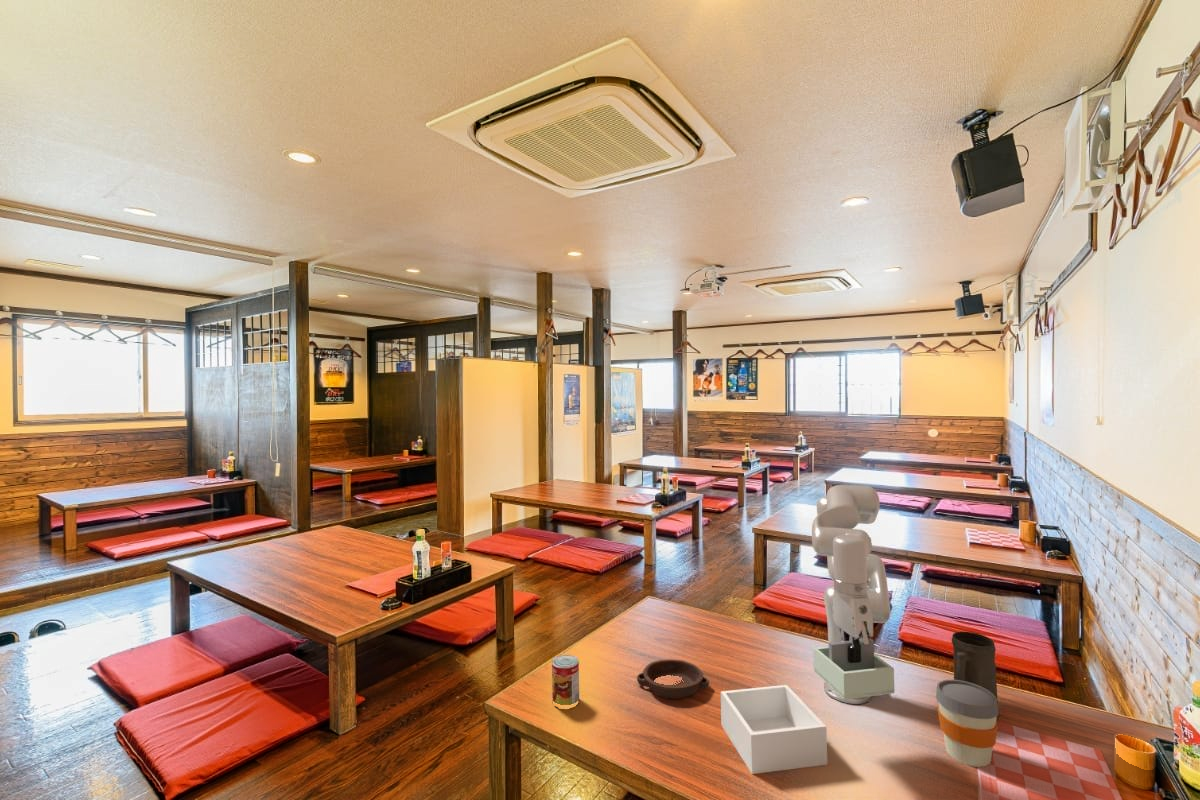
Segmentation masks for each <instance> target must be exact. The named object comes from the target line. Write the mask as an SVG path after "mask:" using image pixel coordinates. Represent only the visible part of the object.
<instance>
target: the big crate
mask: <svg viewBox="0 0 1200 800" xmlns="http://www.w3.org/2000/svg"><path fill="white" fill-rule="evenodd" d="M720 719H721V722H720V723H721V727H722V729H723V730H724V732H725V733H726V735H727V737H728V738H729V739H730V742H731V743H732V745H733V746H734V748H735V749H736V751H737V752H738V754H739V756H740V757H741V759H742V760H743V762H744V764H745V765H746V766H747V769H748V770H749V772H750V773H751V775H755V774H762V773H772V772H779V771H780V772H781V771H787V770H794V769H803V768H810V767H818V766H826V765H828V742H827V741H828V739H827V737H828V735H827V725H826V724H825V723H824V722H823V720H821V719H820V718H819V717H818V716H817V715H816V714H815V713H814V712H813V711H812V710H811V709H810V708H809V706H807V705H806V704H805V702H804V701H803V700H802V699H801V698H800V697H799V696H798V695H797V694H796V693H795V692H794V691H793V690H792V689H791V687H790V686H788V685H787V684H783V685H781V684H780V685H773V686H764V687H763V686H762V687H753V688H752V687H751V688H741V689H732V690H723V691H720Z"/></svg>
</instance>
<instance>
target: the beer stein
mask: <svg viewBox="0 0 1200 800" xmlns="http://www.w3.org/2000/svg"><path fill="white" fill-rule="evenodd" d="M951 644H952V647H953V680H960V681H965V682H969V683H973V684H976V685H978V686H981V687H983V688H985V689H987V690H988V691H990V692H991V693H993V694H994V695H995V697H996V698H997V705H999V699H998V686H997V685H998V684H997V665H996V651H997V650H996V646H995V642H994V641H993V639H991V638H990V637H988V636H986V635H984V634H980V633H976V632H970V631H957V632H953V634H952V638H951ZM998 711H999V712H1000V710H999V709H998ZM999 716H1000V713H999V714H998V716H997V718H998V717H999Z"/></svg>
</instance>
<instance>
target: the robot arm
mask: <svg viewBox="0 0 1200 800" xmlns="http://www.w3.org/2000/svg"><path fill="white" fill-rule="evenodd" d="M880 503H881V502H880V497H879V495H878V492H877V491H876V489H875V488H873V487H871V486H870V485H857V484H856V485H854V484H853V485H852V484H849V485H848V484H838V485H833V486H831V487H830V488H829V489H828V490H827V493H826V495H825V496H822V497H820V498H819V499H818V500H817V502H816V514H817V515H816V516H815V518H814V520H813V522H812V525H811V526H812V527H811V543H812V548H813V550H814V552H815V553H816V554H818V555H819V556H824V557H826V558H827V559H826V560H827V561H826V562H827V570H828V571H827V572H828V576H829V578H830V580H832V581H833V584H831V585H829V586H827V587H826V588H825V589H824V592H823V602H824V607H825V613H826V619H827V620H826V622H827V633H828V634H827V638H828V639H827V640H828V641H827V642H828V644H827V645H828V646H829V643H830V642H840V641H849V645H850V646H848V662H849V663H858V662H861V647H862V645H869V642H868V639H869V638H873V636H874V623H877V624H884V623H887V622H889V620H890V617H891V603H890V602H891V601H890V595H889V589H888V580H887V579H888V578H887V574H886V567H885V564H884V561H883V559H882V558H881V557H880V556H878V555H876V554H873V553H872V545H873V542H872V538H871V537H870V535H869V534H868V532H866V531H865V530H863V529H856V527H857V526H858V525H859V524H861V525H862V524H863V525H871V524H873V523H875V521H876V520H877V516H878V514H879V511H880V506H881V505H880ZM828 646H827V647H828ZM823 689H824V692H825V693H826V694H827V695H828V696H829V697H831V698H832V699H834V700H836V701H838V702H842V703H846V704H852V705H859V704H860V705H861V704H865V703H868V702H869V701H870V700H871V698H872V696H868V697H860V698H851V699H844V698H842V697H841V696H840V695H839V694H838V693H837V692H836V691H835V690H834V689H833V688H832V687H831V686H829V685H828V684H827V683H826V682H825V681H824V682H823Z"/></svg>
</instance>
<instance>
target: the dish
mask: <svg viewBox="0 0 1200 800" xmlns="http://www.w3.org/2000/svg"><path fill="white" fill-rule="evenodd" d="M666 675H671V676H672V675H673V676H679V677H682V680H683V681H684V682H683V681H682V680H681V682H680V681H679V682H680V683H678V682H677V681H676V682H677V683H678V684H676V683H675V684H676V685H674V684H673V685H664V684H659V683H656V682H654V680H655V679H656V678H658V677H661V676H666ZM636 680H637V683H638V684H639V685H640V686H643V687H647V688H648V687H649V688H648V689H649V690H650V689H651V690H652V691H653V692H654V693H653V692H652V691H651V690H650V691H651V692H652V693H653V694H655V695H656V694H657V696H658V695H659V696H658V697H661V696H662V697H661V698H664V697H665V698H664V699H669V698H671V699H672V700H677V699H678V700H680V698H681V699H684V698H687V697H690V696H691V695H693V694H694V693H696V691H697V690H700V689H707V688H709V686H710V680H709V679H708V678H707V677H704V673H703V671H702V670H701V669H700V668H699V667H698V666H696V665H695V664H693V663H690V662H689V661H686V660H682V659H681V660H680V659H672V658H671V659H668V658H667V659H659V660H655V661H652V662H650V663H648V664H647V665H646V666H645V667H644V669H643V670H642V672H641V673H639V674H637V676H636ZM671 699H670V700H671Z"/></svg>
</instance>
